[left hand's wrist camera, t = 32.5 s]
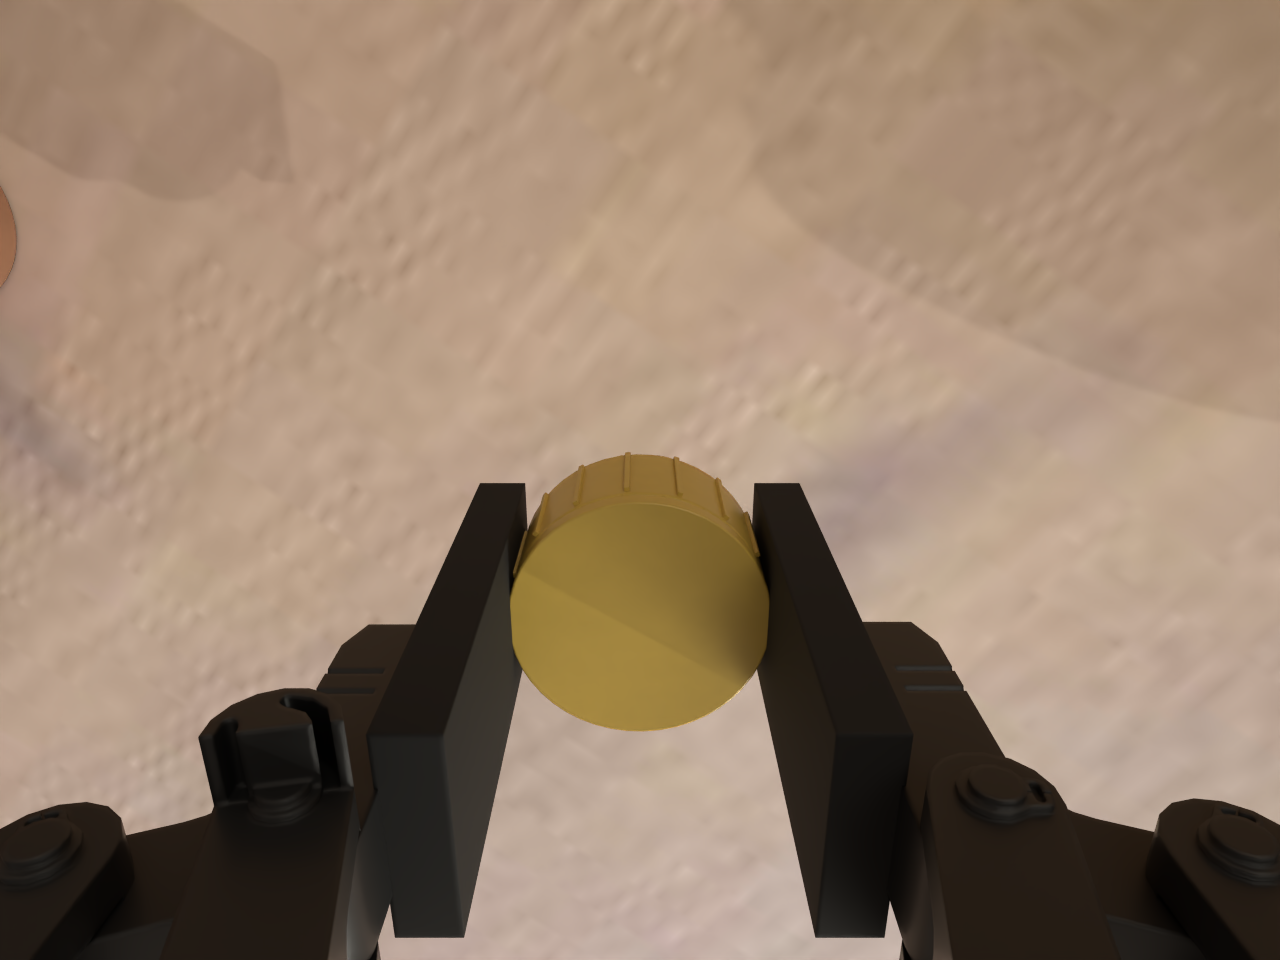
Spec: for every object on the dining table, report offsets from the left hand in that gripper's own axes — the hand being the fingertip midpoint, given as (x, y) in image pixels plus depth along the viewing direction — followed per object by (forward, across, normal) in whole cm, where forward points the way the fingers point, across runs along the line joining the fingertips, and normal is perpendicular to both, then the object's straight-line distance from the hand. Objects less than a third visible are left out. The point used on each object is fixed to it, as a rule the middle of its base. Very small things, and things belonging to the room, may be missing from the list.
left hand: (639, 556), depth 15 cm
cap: (-2, 0, 0) cm, 2 cm away
